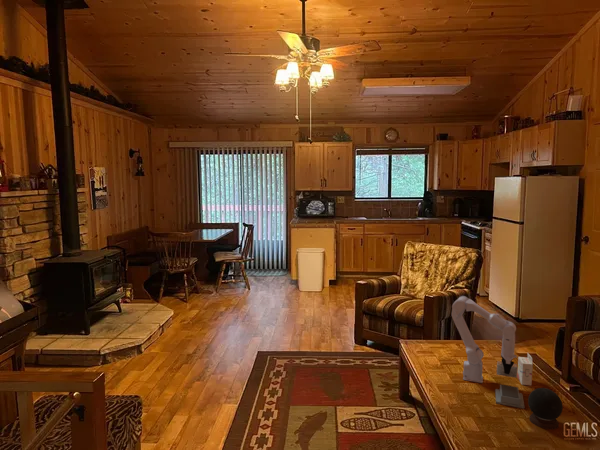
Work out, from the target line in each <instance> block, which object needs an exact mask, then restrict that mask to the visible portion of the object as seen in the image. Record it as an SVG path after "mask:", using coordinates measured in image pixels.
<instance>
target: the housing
mask: <svg viewBox="0 0 600 450" xmlns="http://www.w3.org/2000/svg"><path fill="white" fill-rule="evenodd" d="M517 373H518V363H514V364H513V366H512V367H511V370H510V373H509V374H505V373H504V366H503V363H502V361H500V360H497V363H496V375H498V376H503V377H510V378H517ZM517 379H518V378H517Z"/></svg>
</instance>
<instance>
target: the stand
mask: <svg viewBox="0 0 600 450" xmlns="http://www.w3.org/2000/svg"><path fill="white" fill-rule="evenodd" d="M494 392H495V404H498V405H503V406H509V407H513V408H519V409H525V402H524V396H523V393H521V392H520V391H519V387H518V386H512V385H506V384H499V389H498V388H495V390H494Z"/></svg>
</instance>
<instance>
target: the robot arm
mask: <svg viewBox="0 0 600 450" xmlns="http://www.w3.org/2000/svg"><path fill="white" fill-rule="evenodd" d="M451 308H452V309H451V318H452V320H453V323H454V325H455V327H456V328H457V331H458V333H459V336H460V337H461V340H462V342H463V344H464V346H465V353H466V355H467V356H466V357H467V360H464V361H463V371H462V375H463V377H462V380H463V381H470V382H473V383H478V384H479V383H480V384H483V383H484V381H483V379H484V378H483V377H484V376H483V365H484V364H483V361H482V359H483V358H484V352H483V350H482V349H481V348H480V347H479V345H478V344H477V343H476V342H475V339H474V338H473V336H472V333H471V331H470V330H469V327H468V325H467V322H466V320H465V318H464V316H463V314H464V313H465V312H474V313H476V314H477V315H480V316H481V317H483V318H485V319H486V320H487V322H488V323H489V324H490V325H491V326H493V327H495V328H496V329H498V330H500V331H501V333H502V338H501V339H502V340H501V341H502V342H501V353H500V357H501V362H502V363H503V366H504V373H505V374H509V373H510V370H511V367H512V366H513V364H515V362H514V361H513V359H514V358H515V359H517V358H518V356H517V354H515V347H516V345H515V344H516V338H515V337H516V331H517V326H516V324H515V323H514V322H513V321H510V320H506V319H505V318H503V317H501V316H500V315H501V314H499V313H491V312H489V311H488V310H486V309H485V308H483V307H482V306H480V305H479V304H478V303H476V302H475V301H474V300H472V299H471V298H468V297H467V296H465V295H460V296H459V297H458V298H457V299H456V300H455V301H454V302H453V303H452V305H451Z"/></svg>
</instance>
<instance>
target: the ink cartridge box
mask: <svg viewBox="0 0 600 450" xmlns="http://www.w3.org/2000/svg"><path fill="white" fill-rule="evenodd" d="M517 359H518V360H517V380H518V381H519V383H520V384H521V385H522V386H533V385H532V384H533V383H532V382H533V381H532V379H533V364H534V363H533V362H534V361H533V357H532V356H531V355H530V354H529V352H527V357H524V356H517Z"/></svg>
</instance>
